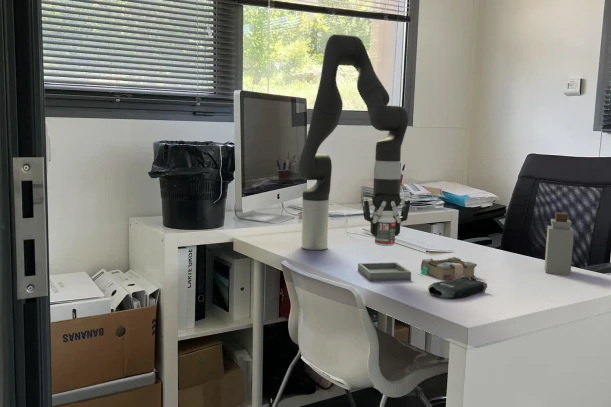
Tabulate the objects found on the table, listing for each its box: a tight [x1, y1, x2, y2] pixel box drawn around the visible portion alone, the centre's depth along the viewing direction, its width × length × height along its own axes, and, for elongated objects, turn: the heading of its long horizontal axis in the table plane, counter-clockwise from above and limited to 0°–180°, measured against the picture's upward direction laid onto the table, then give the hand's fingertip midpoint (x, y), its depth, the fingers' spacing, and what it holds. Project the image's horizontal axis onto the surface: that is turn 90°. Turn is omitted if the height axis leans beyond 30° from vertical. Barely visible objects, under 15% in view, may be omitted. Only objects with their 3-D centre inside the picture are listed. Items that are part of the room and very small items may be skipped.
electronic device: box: [427, 276, 488, 300], centre depth 149 cm, size 9×6×15 cm
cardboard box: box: [417, 256, 478, 281], centre depth 167 cm, size 20×12×5 cm, turn 114°
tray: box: [357, 261, 412, 282], centre depth 166 cm, size 12×12×2 cm
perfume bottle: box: [544, 211, 575, 276], centre depth 174 cm, size 7×7×18 cm
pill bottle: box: [374, 211, 396, 247], centre depth 164 cm, size 6×6×10 cm
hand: (384, 235), depth 164 cm, fingers closed on pill bottle, 5 cm apart
